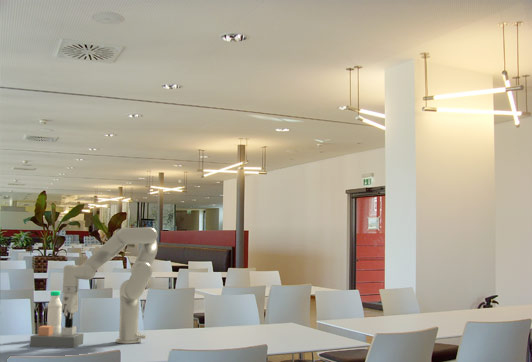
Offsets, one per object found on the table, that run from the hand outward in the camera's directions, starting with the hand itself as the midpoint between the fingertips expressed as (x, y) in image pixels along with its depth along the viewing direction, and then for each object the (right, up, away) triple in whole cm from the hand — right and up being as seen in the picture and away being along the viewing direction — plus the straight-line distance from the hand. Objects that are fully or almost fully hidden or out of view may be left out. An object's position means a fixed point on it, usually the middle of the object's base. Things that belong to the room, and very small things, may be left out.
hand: (68, 326), depth 304 cm
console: (-6, -9, 0) cm, 11 cm away
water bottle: (-13, -11, +16) cm, 24 cm away
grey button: (0, -5, 0) cm, 5 cm away
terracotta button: (-12, -5, +1) cm, 13 cm away
